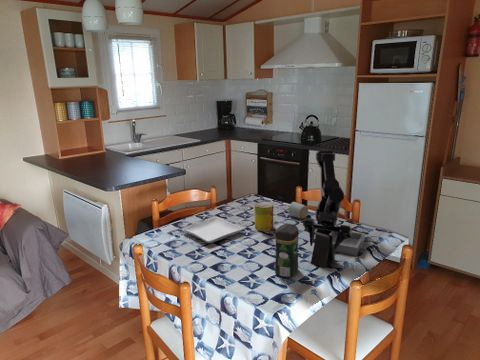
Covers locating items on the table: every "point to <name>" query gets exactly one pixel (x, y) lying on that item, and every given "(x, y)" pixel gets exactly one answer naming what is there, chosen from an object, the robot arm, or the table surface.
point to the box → (349, 243)
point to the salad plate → (213, 229)
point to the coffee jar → (286, 250)
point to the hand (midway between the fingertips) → (322, 247)
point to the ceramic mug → (298, 210)
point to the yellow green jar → (264, 216)
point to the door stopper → (323, 250)
